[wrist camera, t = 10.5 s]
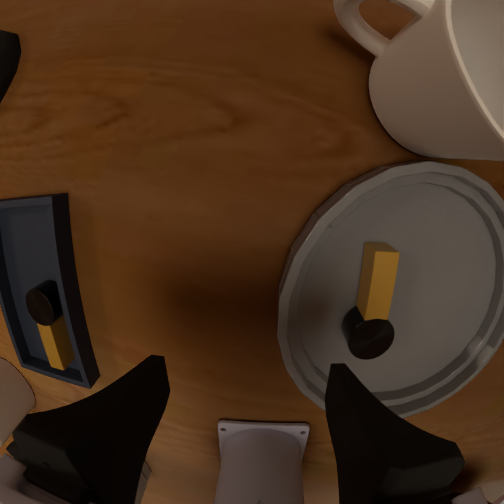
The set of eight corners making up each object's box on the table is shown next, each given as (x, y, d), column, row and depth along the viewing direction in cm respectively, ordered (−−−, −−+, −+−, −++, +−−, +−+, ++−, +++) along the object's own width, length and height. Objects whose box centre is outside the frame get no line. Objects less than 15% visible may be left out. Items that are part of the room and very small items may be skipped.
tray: (100, 376, 23) (90, 389, 22) (31, 356, 24) (21, 366, 22) (67, 192, 19) (51, 196, 17) (-3, 199, 19) (-18, 203, 18)
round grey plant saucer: (464, 385, 22) (477, 402, 19) (270, 402, 23) (269, 426, 20) (516, 183, 17) (539, 187, 14) (283, 148, 18) (285, 145, 15)
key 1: (83, 359, 22) (71, 373, 20) (56, 352, 23) (44, 365, 21) (64, 281, 20) (48, 291, 18) (37, 277, 21) (21, 287, 18)
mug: (290, 74, 16) (308, -14, 6) (349, -7, 14) (394, -98, 4) (439, 182, 17) (549, 206, 7) (481, 97, 15) (580, 78, 5)
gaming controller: (74, 485, 32) (60, 503, 28) (54, 473, 35) (40, 488, 30) (29, 439, 29) (11, 458, 25) (13, 428, 32) (-3, 444, 27)
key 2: (352, 240, 18) (362, 250, 16) (398, 243, 18) (411, 252, 16) (338, 342, 20) (344, 360, 18) (379, 341, 20) (388, 358, 18)
